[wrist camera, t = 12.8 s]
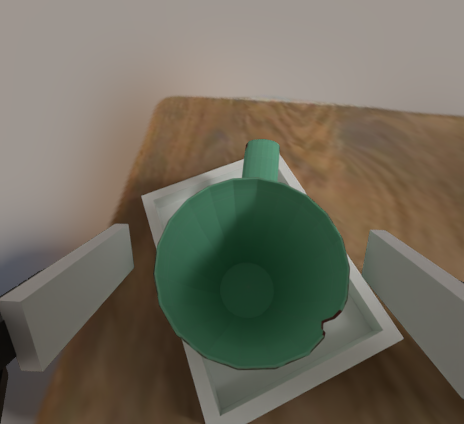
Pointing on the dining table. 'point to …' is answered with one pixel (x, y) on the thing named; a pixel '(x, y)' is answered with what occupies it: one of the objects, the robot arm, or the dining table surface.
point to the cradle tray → (293, 374)
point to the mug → (251, 268)
